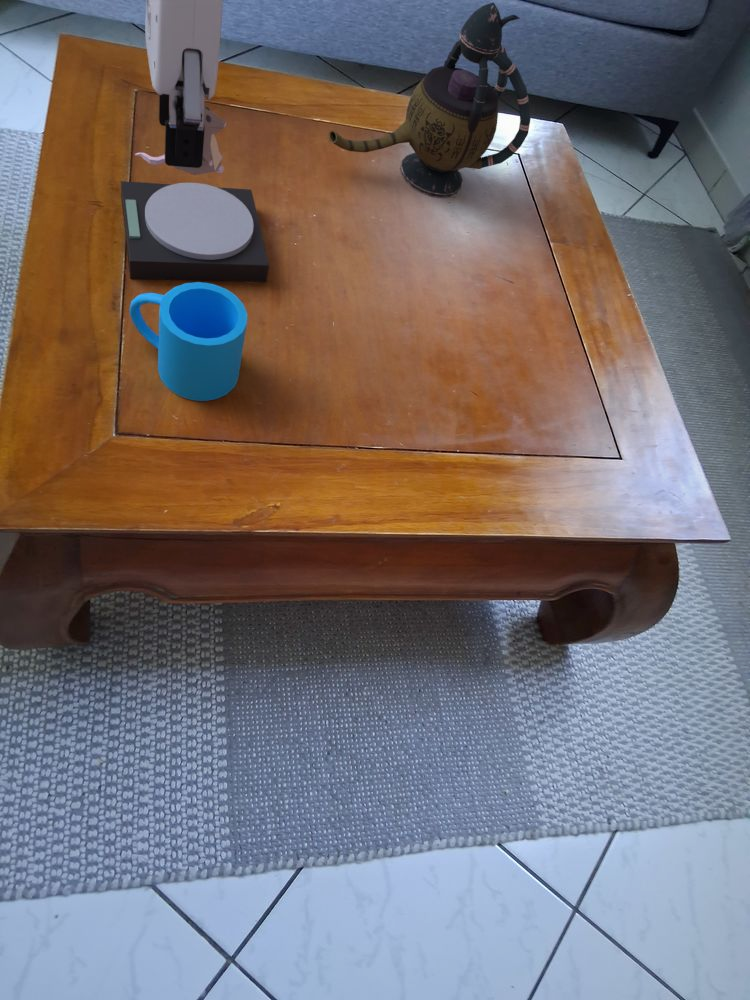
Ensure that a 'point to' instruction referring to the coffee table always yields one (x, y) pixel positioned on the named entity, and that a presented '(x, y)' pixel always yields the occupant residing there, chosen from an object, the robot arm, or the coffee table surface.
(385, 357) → the coffee table surface
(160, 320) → the mug
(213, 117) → the mouse figurine
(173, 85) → the robot arm
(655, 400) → the coffee table surface
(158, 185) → the kitchen scale
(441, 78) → the teapot
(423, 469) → the coffee table surface
